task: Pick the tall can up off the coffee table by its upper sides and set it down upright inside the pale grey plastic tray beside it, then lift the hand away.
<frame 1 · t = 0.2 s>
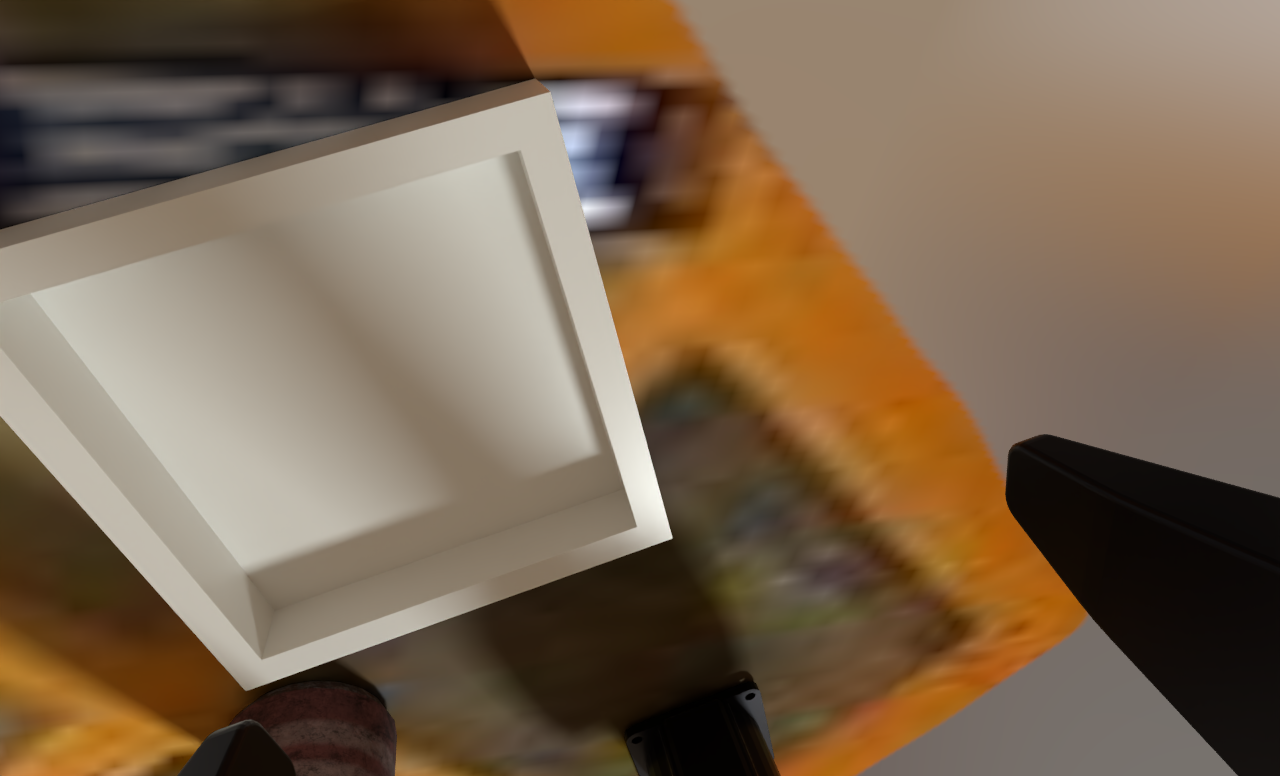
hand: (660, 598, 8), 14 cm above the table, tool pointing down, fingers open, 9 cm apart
tray: (379, 390, 21), on the table
can: (318, 724, 27), on the table
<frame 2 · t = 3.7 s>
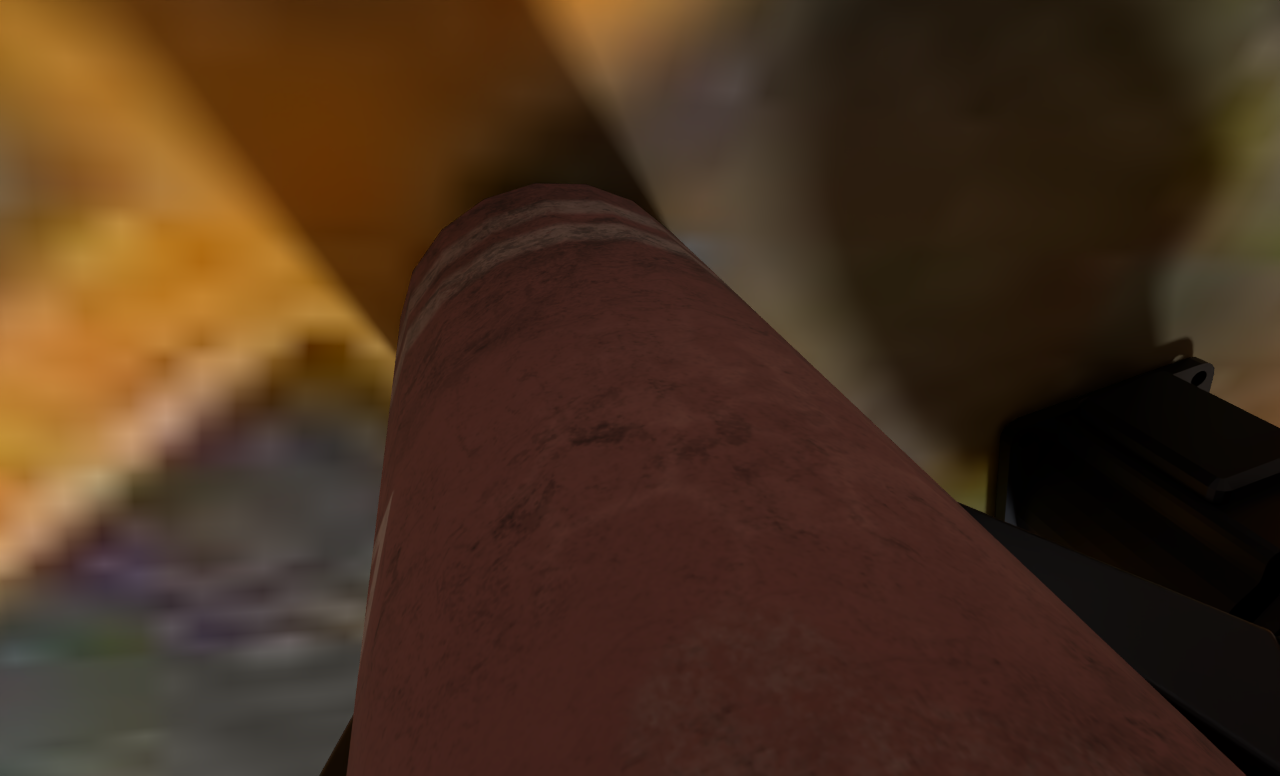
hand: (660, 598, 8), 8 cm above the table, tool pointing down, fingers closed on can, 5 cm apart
can: (559, 321, 15), on the table, touching gripper
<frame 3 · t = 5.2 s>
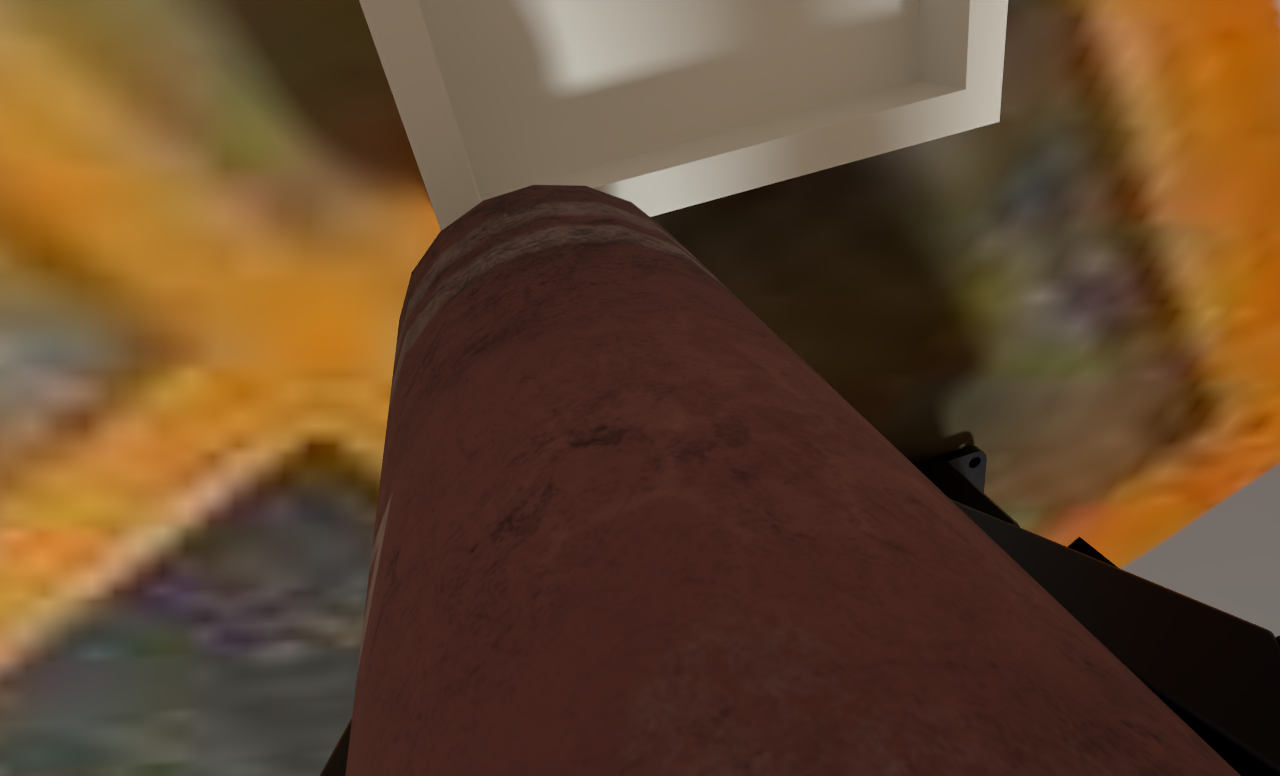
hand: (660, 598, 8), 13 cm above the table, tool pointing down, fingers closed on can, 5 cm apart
can: (558, 323, 15), point 5 cm above the table, touching gripper
when the fingers open (10 cm above the table, at t = 7.0 s): can drops 1 cm, resting on tray.
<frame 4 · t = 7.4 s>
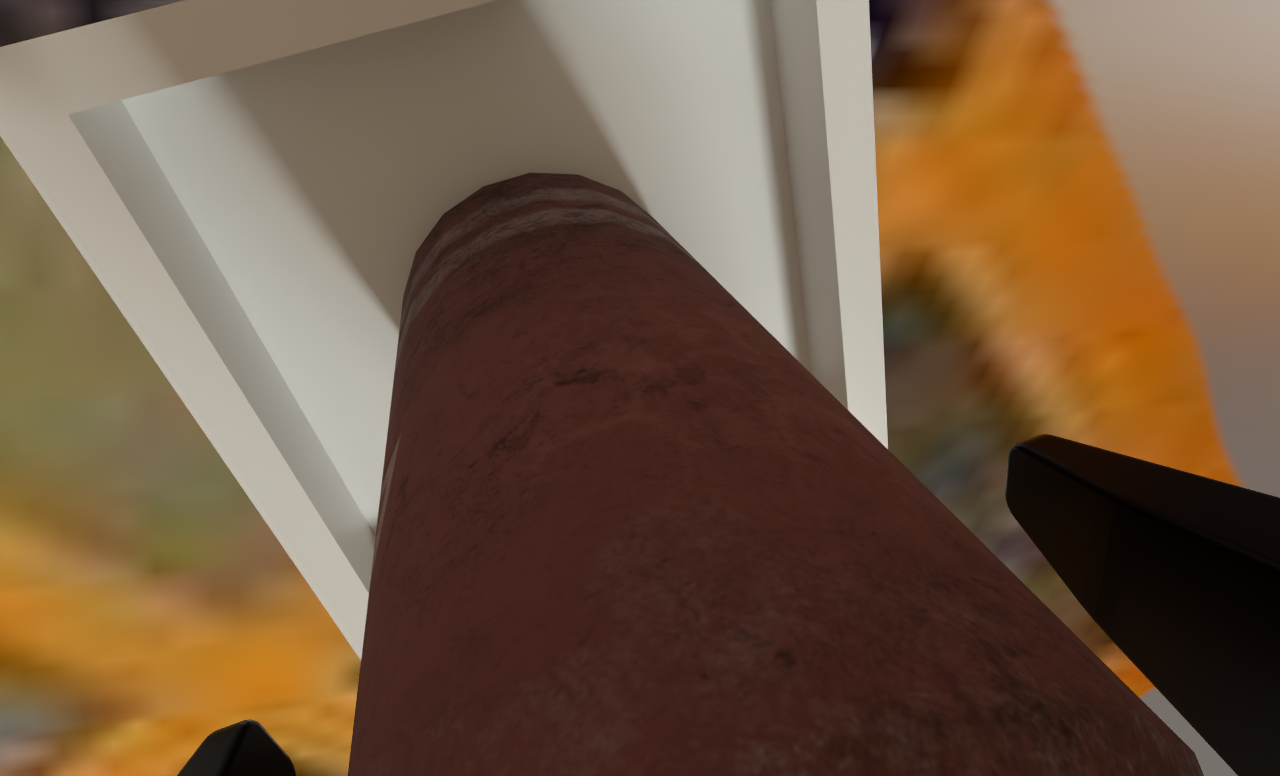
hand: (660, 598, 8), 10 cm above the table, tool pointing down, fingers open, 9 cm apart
tray: (546, 291, 16), on the table
can: (551, 303, 16), point 1 cm above the table, touching tray
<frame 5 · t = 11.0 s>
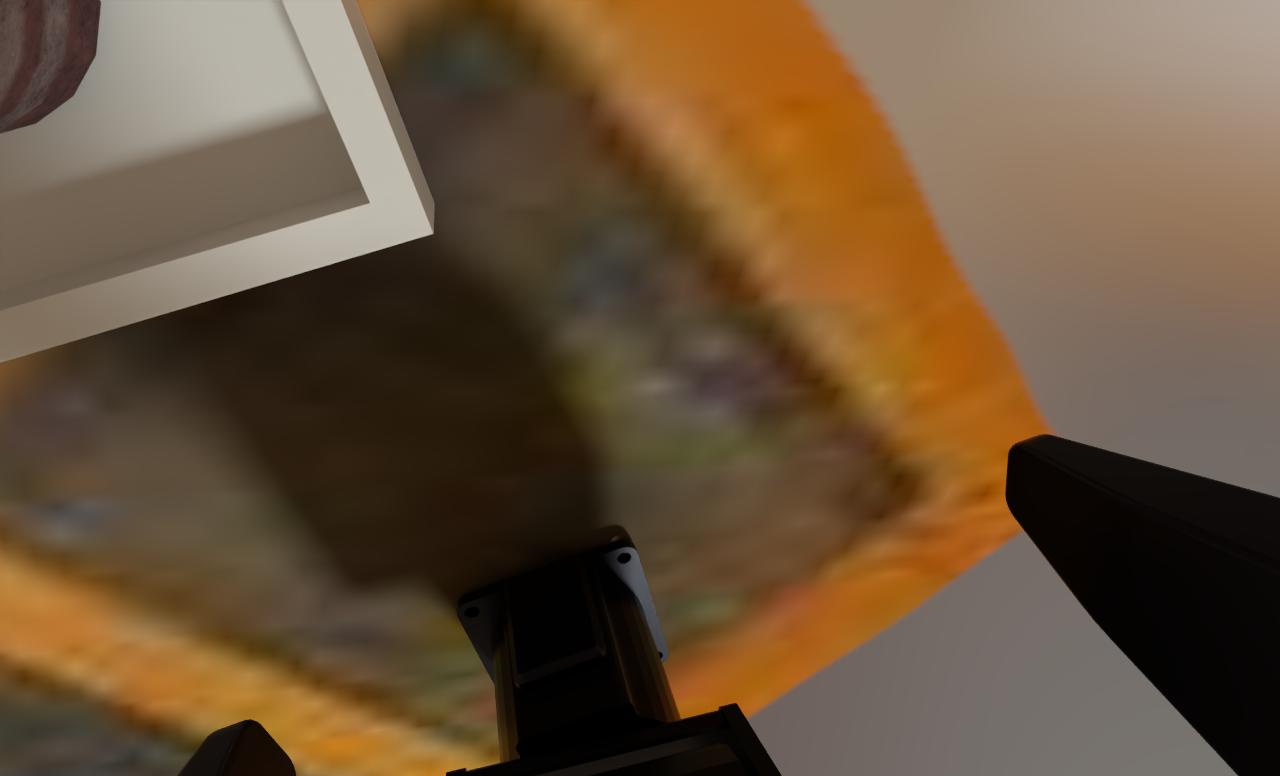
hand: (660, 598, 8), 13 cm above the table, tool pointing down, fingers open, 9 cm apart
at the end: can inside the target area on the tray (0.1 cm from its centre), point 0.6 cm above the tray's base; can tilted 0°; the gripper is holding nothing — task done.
